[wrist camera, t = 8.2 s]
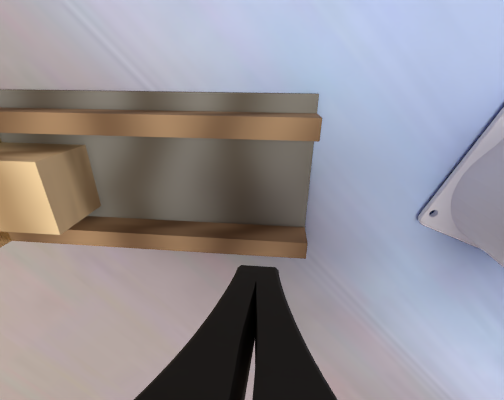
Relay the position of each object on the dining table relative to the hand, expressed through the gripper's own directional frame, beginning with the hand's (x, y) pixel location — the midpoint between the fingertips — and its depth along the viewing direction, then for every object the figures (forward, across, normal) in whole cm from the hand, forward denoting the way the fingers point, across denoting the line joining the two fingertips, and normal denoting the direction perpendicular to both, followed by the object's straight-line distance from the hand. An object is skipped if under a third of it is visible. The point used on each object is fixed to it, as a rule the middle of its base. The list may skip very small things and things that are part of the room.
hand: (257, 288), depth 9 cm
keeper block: (+9, +15, -1) cm, 18 cm away
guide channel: (+9, +8, -1) cm, 13 cm away
